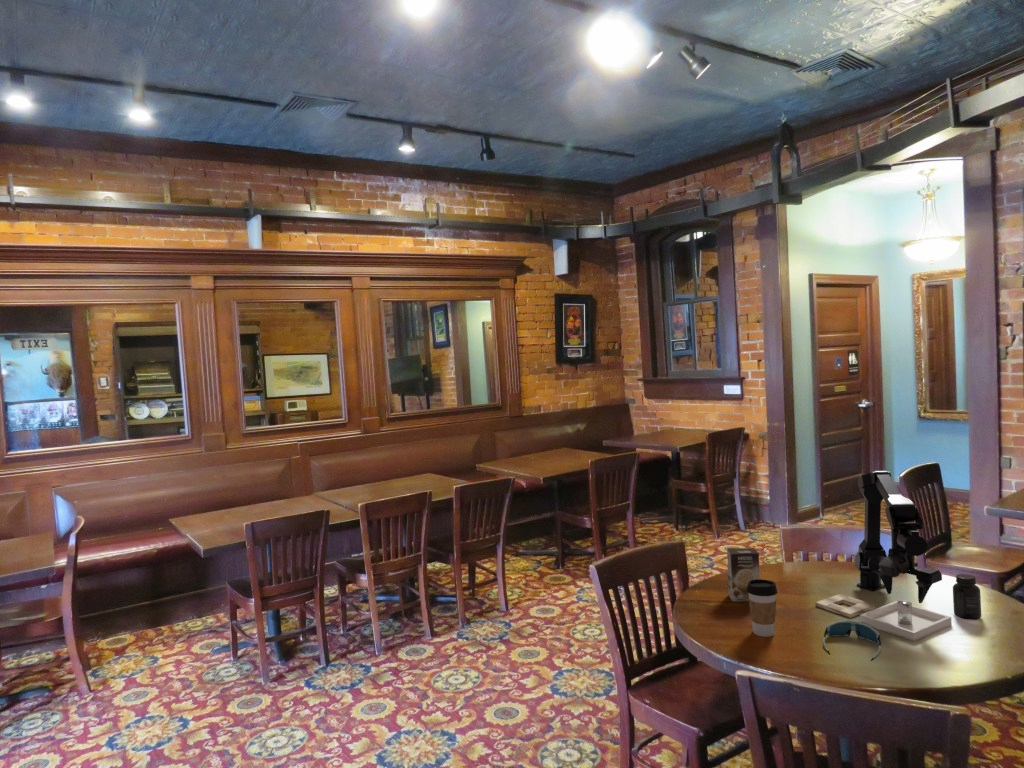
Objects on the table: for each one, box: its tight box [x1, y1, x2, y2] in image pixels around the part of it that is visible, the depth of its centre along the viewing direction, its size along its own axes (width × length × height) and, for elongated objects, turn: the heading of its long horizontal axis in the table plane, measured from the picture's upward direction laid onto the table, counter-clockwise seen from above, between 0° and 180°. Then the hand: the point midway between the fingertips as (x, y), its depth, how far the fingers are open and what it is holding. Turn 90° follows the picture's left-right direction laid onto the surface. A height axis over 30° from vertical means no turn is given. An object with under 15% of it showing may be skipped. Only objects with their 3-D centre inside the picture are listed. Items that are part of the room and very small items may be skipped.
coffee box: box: [726, 547, 761, 602], centre depth 226 cm, size 9×6×16 cm
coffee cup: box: [747, 578, 778, 638], centre depth 199 cm, size 8×8×15 cm
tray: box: [859, 600, 953, 642], centre depth 199 cm, size 18×16×2 cm
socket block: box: [815, 593, 876, 619], centre depth 214 cm, size 12×12×1 cm
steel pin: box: [896, 599, 913, 625], centre depth 199 cm, size 4×4×6 cm
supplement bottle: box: [952, 573, 982, 621], centre depth 202 cm, size 7×7×12 cm
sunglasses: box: [822, 620, 882, 662], centre depth 187 cm, size 14×15×5 cm
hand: (904, 598), depth 199 cm, fingers open, 9 cm apart
